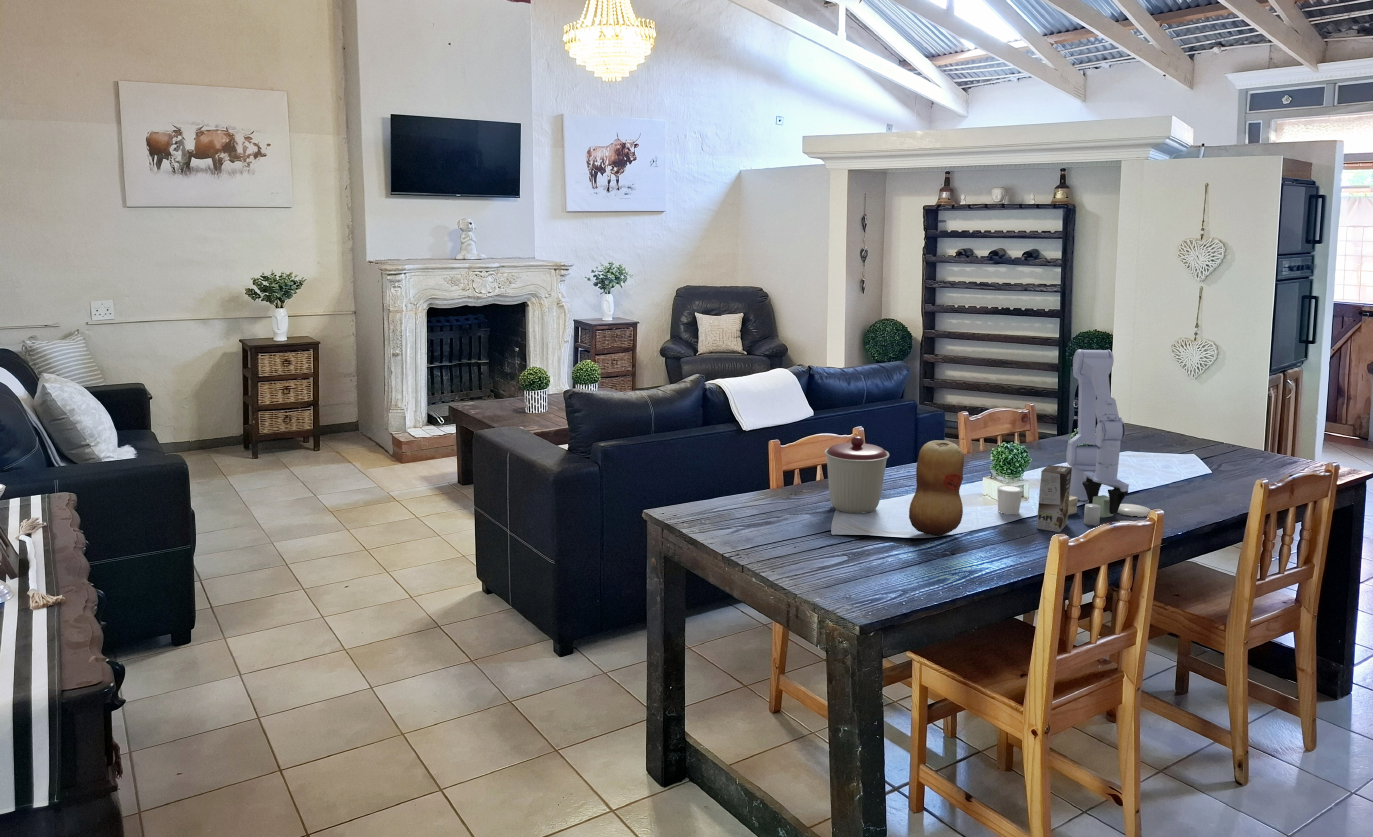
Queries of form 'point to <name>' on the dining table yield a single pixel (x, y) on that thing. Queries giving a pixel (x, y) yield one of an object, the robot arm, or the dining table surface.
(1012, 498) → the white cup
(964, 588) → the dining table surface
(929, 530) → the butternut squash
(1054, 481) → the coffee box
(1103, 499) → the sage block
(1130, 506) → the saucer
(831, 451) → the canister
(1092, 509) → the grey cylinder
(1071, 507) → the birch cube
